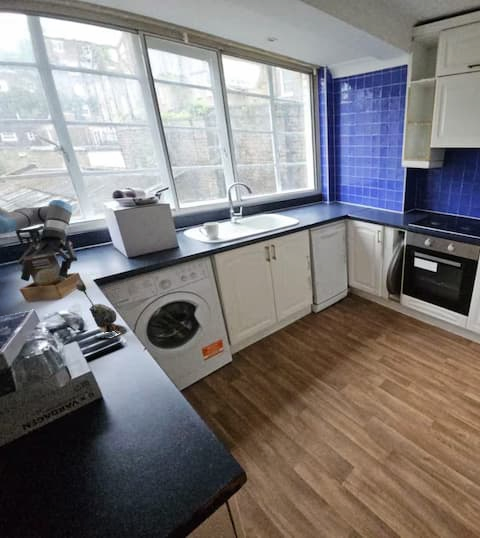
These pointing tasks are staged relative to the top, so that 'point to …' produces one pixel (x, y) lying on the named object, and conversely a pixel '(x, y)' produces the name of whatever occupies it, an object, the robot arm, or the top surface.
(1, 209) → the robot arm
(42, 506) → the top surface
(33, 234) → the holder
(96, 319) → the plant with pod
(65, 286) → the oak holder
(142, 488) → the top surface
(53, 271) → the coffee box
